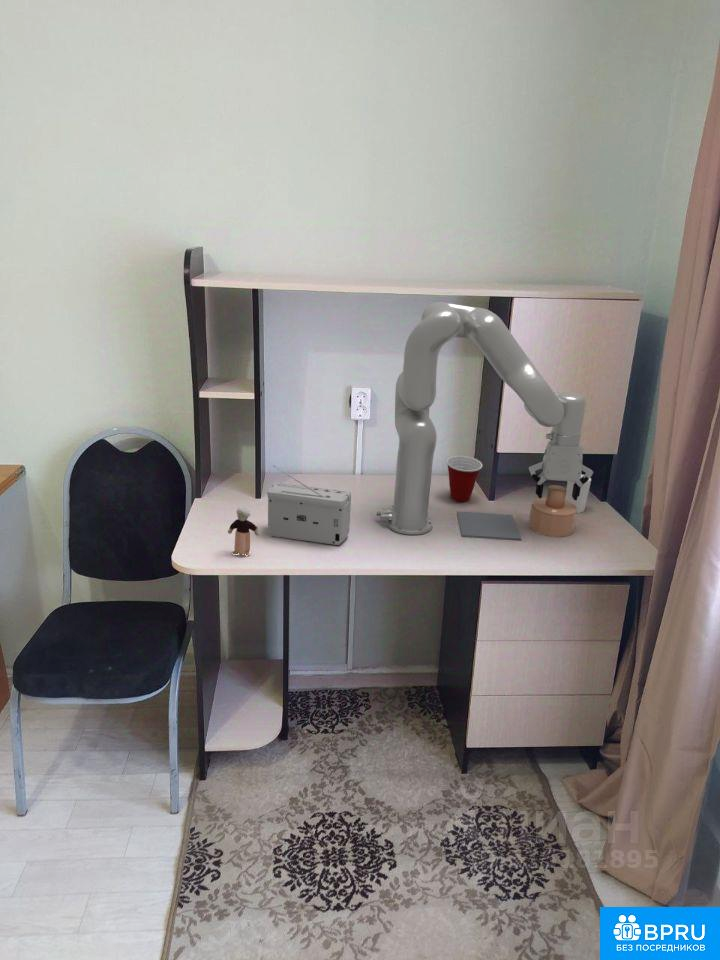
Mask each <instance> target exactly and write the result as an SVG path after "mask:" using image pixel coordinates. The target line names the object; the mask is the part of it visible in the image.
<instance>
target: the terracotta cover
mask: <svg viewBox="0 0 720 960" xmlns="http://www.w3.org/2000/svg"><path fill="white" fill-rule="evenodd" d="M566 491H567V487H566V488H565V486H561V485H557V484H555V485H554V484H553V485H552V484H551V485H549V486H548V487H547V491H546V496H542V498H541V499H540V498H539V497H537V498H534V499H533V501H532V503H531V505H530V512H529V520H528V526H529V528H530V529H531V530H533V531H534V532H536V533H537V534H540V535H544V536H548V537H553V538H554V537H555V538H565V537H568V536H571V535H572V534H573V533H574V531H575V528H576V527H575V526H576V521H577V514H578V513H577V507H576V506H575V505H574V504H573V503H571V502H569V501H567V500H565V499H566Z"/></svg>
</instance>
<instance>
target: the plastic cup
mask: <svg viewBox="0 0 720 960" xmlns="http://www.w3.org/2000/svg"><path fill="white" fill-rule="evenodd" d="M446 464H447V469H448V480H449V482H448V483H449V490H450V491H449V492H450V499H451V500H452V501H454V502H458V503H467V502H469V501H470V499H471V497H472V494H473V491H474V487H475V485H476V481H477V477H478V475H479V473H480V470H481V469H482V468H483V463H482V461H480V460H478V458H474V457H472V456H465V455H452V456H450V457H447V459H446Z"/></svg>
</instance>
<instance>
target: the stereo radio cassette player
mask: <svg viewBox="0 0 720 960" xmlns="http://www.w3.org/2000/svg"><path fill="white" fill-rule="evenodd" d="M272 467H273V468H276V469H278V470H279V471H280V472H282V474H285V475H286V476H288V477H290V478H291V479H293V480H294V481H295V482H297V483H298V484H294V483H287V482H277V481H275V482H273V484H272V485H271V486H270V487H269V489H268V490H267V532H268V533H269V535H270V536H271V537H272V536H274V537H278V538H283V539H290V540H291V539H292V540H298V541H305V542H313V543H319V544H325V545H333V546H334V545H335V546H336V545H338V546H339V545H341V544H342V543H343V542H344V541H345V540H346V538H348V537H347V536H348V535H349V533H350V525H351V524H350V523H351V507H352V506H351V505H352V501H351V500H352V494H351V491H349V490H342V489H334V488H333V489H332V488H327V487H325V488H324V487H317V486H311V485H310V486H309V485H307V484H306V483H304V482H302V481H301V480H299V479H297V478H295V477H294V476H292V475H291V474H288V473H287V472H286V471H284V470H282V469H280V468H279V467H277V466H276V465H275V464H273V466H272Z"/></svg>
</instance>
